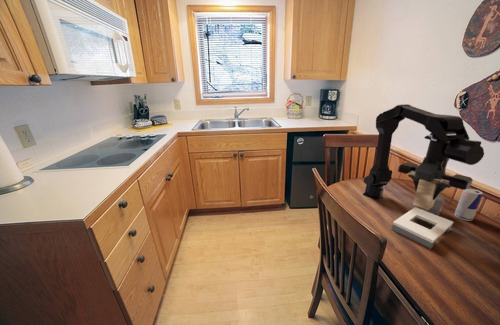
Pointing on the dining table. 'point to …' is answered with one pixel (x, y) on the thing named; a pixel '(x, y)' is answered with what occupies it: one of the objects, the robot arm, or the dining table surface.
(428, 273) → the dining table surface
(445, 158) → the robot arm
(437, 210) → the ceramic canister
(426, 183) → the wood peg
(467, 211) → the energy drink
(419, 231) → the hole board
